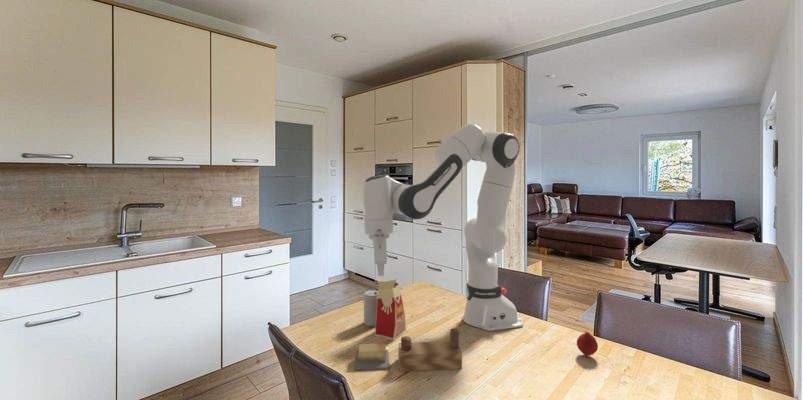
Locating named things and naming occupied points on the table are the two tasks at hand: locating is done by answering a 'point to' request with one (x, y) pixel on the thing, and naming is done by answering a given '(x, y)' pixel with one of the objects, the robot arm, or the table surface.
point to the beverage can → (370, 308)
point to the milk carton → (389, 311)
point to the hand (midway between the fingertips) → (380, 270)
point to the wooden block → (372, 353)
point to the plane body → (430, 354)
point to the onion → (587, 344)
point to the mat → (372, 364)
